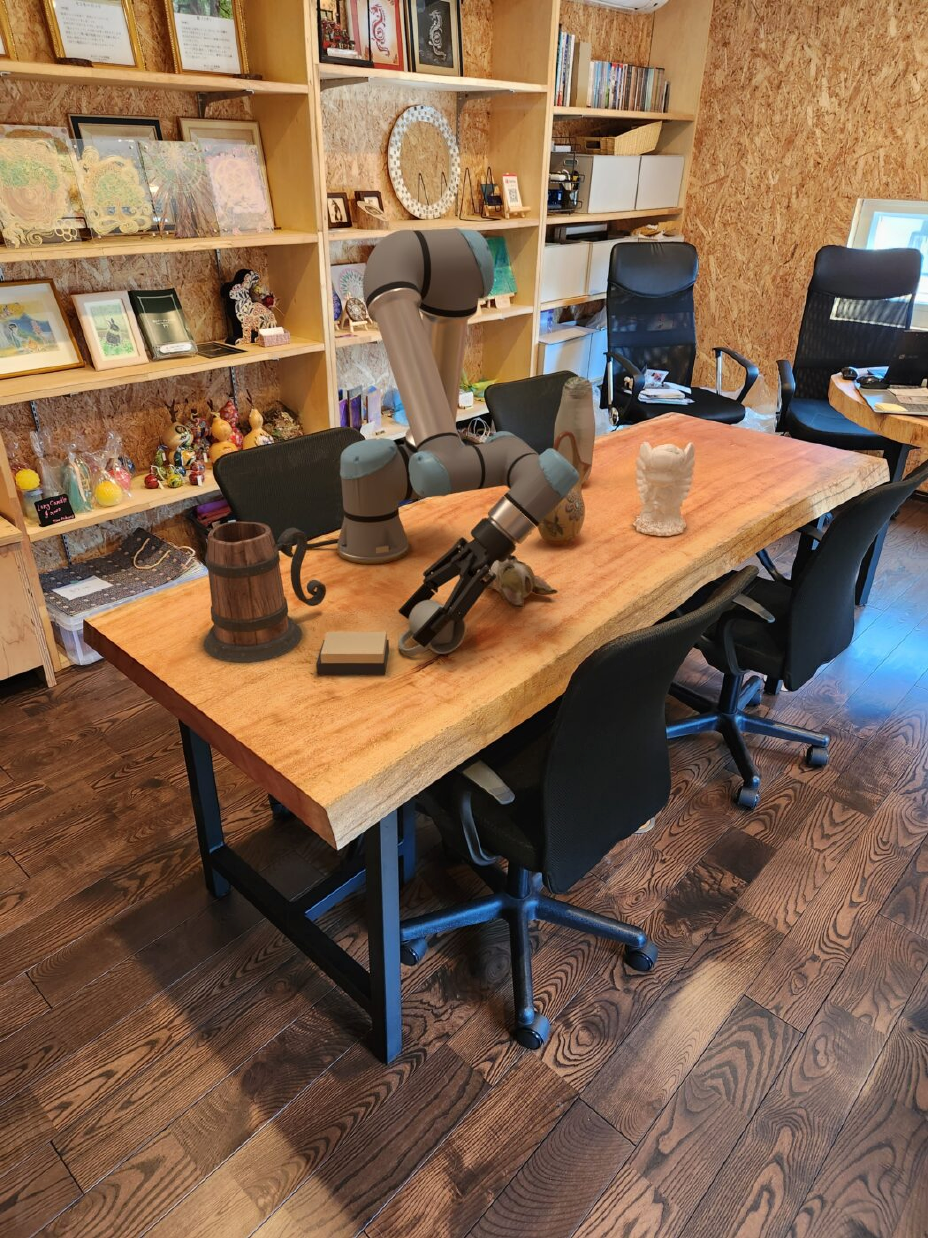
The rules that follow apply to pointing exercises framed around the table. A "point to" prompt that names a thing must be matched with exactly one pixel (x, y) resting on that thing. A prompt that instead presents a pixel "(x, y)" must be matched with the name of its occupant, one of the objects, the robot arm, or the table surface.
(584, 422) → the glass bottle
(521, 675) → the table surface
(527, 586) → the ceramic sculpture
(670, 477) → the cherub figurine
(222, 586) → the tankard
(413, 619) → the ceramic mug
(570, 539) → the ceramic vessel
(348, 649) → the stone
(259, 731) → the table surface
